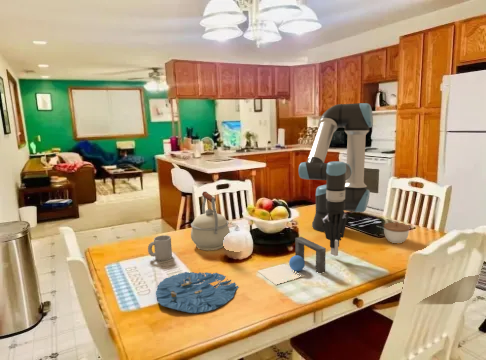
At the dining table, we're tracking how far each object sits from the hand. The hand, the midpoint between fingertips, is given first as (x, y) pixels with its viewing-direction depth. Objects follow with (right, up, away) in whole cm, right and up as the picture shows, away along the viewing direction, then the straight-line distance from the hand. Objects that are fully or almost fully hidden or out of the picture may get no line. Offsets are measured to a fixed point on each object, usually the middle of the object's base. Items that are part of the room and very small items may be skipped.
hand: (334, 254), depth 142 cm
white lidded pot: (+34, +2, +18) cm, 38 cm away
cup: (-74, -3, +6) cm, 75 cm away
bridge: (-11, -3, -6) cm, 13 cm away
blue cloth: (-55, -8, -23) cm, 60 cm away
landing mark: (-24, -5, -12) cm, 27 cm away
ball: (-17, -1, -10) cm, 20 cm away
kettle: (-54, 0, +21) cm, 58 cm away
